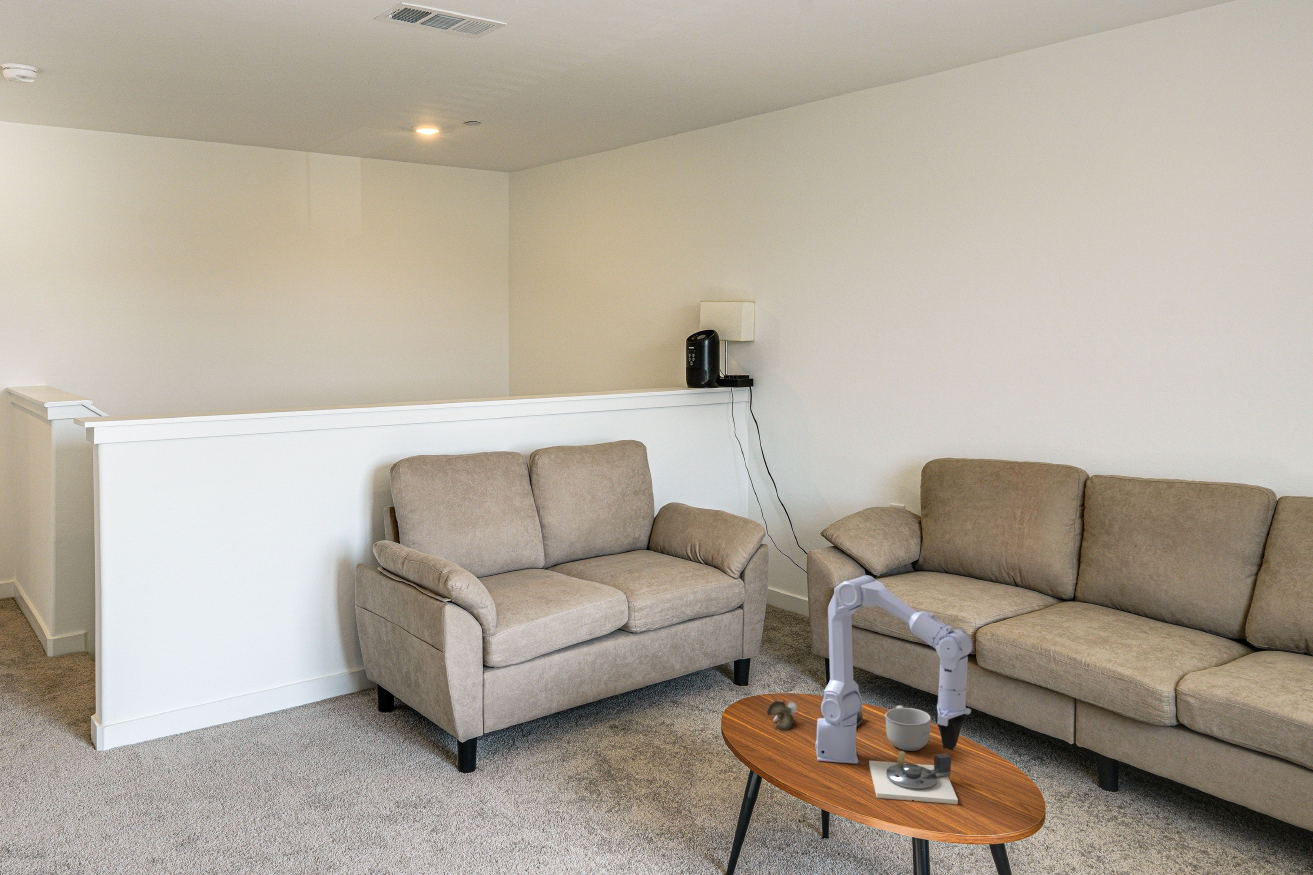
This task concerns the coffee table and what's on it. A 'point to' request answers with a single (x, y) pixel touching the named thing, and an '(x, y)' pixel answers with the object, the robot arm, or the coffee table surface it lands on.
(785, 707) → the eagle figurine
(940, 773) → the flange plate
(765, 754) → the coffee table surface
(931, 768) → the base plate
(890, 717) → the teacup
